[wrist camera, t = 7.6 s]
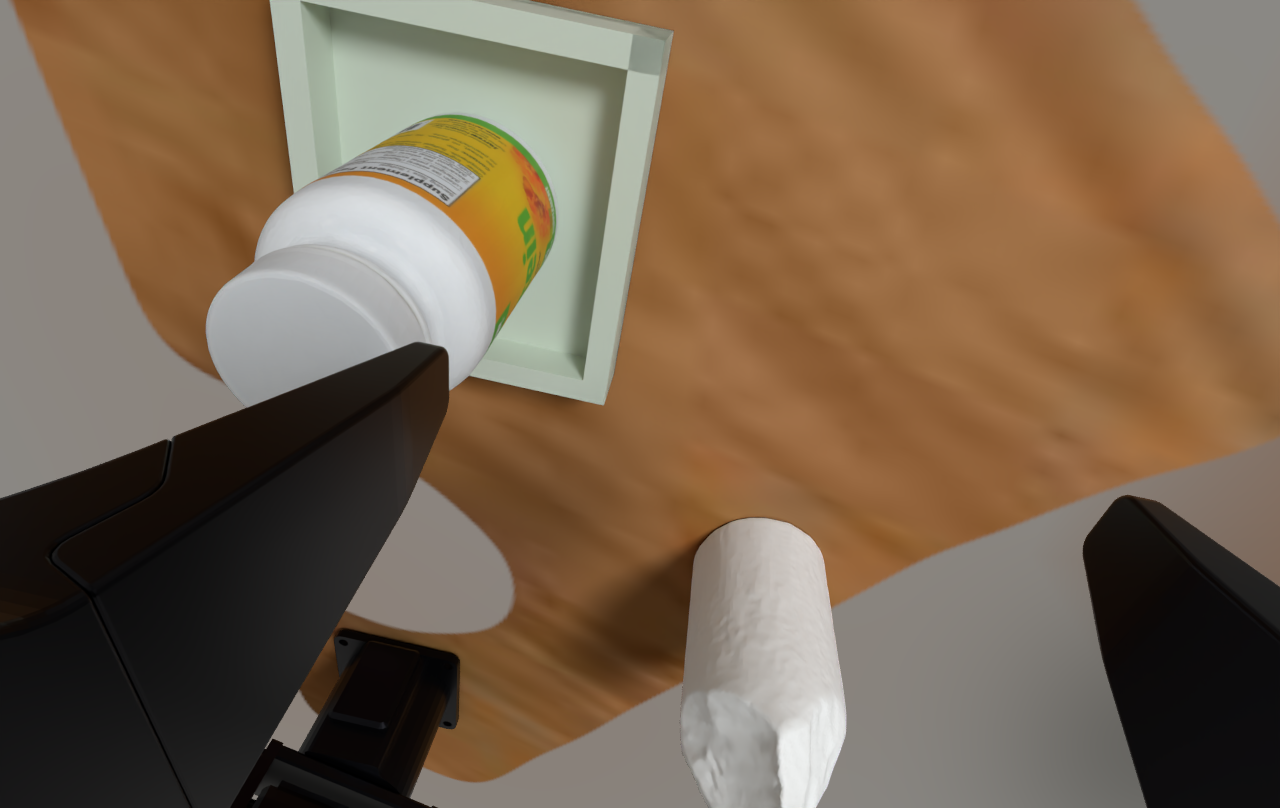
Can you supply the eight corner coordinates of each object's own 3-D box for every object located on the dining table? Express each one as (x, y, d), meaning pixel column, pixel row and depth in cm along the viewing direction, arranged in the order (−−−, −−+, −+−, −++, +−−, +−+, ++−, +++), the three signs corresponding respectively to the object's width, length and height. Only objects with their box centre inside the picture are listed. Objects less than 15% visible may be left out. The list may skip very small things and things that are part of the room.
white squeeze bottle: (697, 818, 18) (907, 875, 18) (718, 500, 27) (853, 539, 28) (639, 904, 21) (815, 951, 21) (676, 594, 31) (797, 628, 31)
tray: (613, 373, 25) (603, 405, 23) (341, 313, 25) (312, 341, 23) (673, 31, 18) (665, 41, 17) (307, -47, 19) (264, -44, 17)
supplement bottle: (544, 304, 23) (429, 506, 15) (385, 254, 23) (184, 433, 15) (579, 142, 20) (456, 289, 12) (395, 82, 20) (145, 192, 12)
